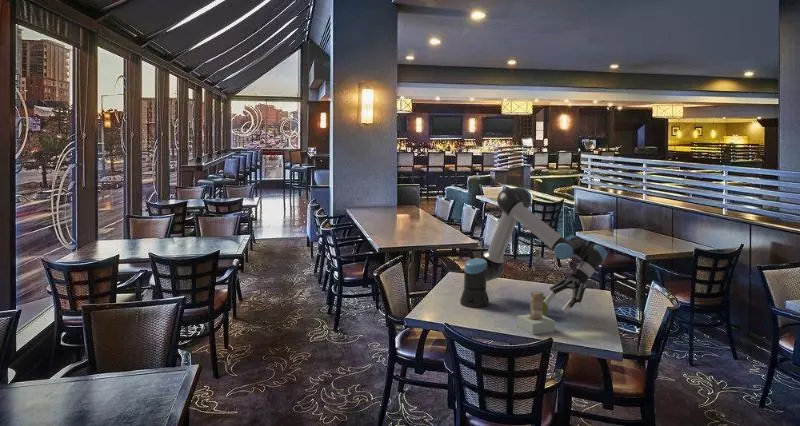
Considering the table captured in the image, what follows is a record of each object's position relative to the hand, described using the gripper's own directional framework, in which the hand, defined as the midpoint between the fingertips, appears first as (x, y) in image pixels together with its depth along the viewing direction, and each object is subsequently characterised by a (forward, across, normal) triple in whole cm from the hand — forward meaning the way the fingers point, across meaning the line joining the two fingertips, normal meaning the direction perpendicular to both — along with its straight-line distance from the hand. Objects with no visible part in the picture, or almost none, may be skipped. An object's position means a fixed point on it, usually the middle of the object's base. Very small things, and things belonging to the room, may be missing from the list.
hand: (554, 307), depth 248 cm
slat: (+13, 0, +1) cm, 13 cm away
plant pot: (+4, +16, -10) cm, 19 cm away
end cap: (+14, 0, 0) cm, 14 cm away
